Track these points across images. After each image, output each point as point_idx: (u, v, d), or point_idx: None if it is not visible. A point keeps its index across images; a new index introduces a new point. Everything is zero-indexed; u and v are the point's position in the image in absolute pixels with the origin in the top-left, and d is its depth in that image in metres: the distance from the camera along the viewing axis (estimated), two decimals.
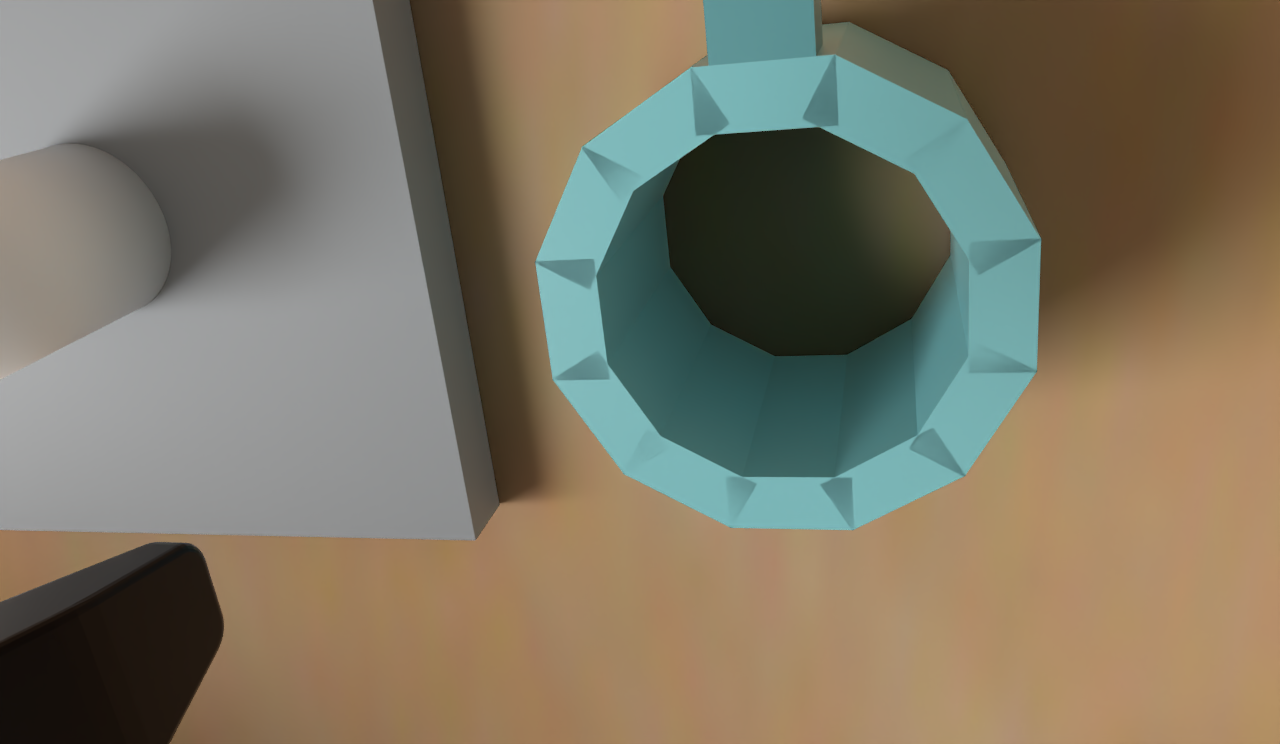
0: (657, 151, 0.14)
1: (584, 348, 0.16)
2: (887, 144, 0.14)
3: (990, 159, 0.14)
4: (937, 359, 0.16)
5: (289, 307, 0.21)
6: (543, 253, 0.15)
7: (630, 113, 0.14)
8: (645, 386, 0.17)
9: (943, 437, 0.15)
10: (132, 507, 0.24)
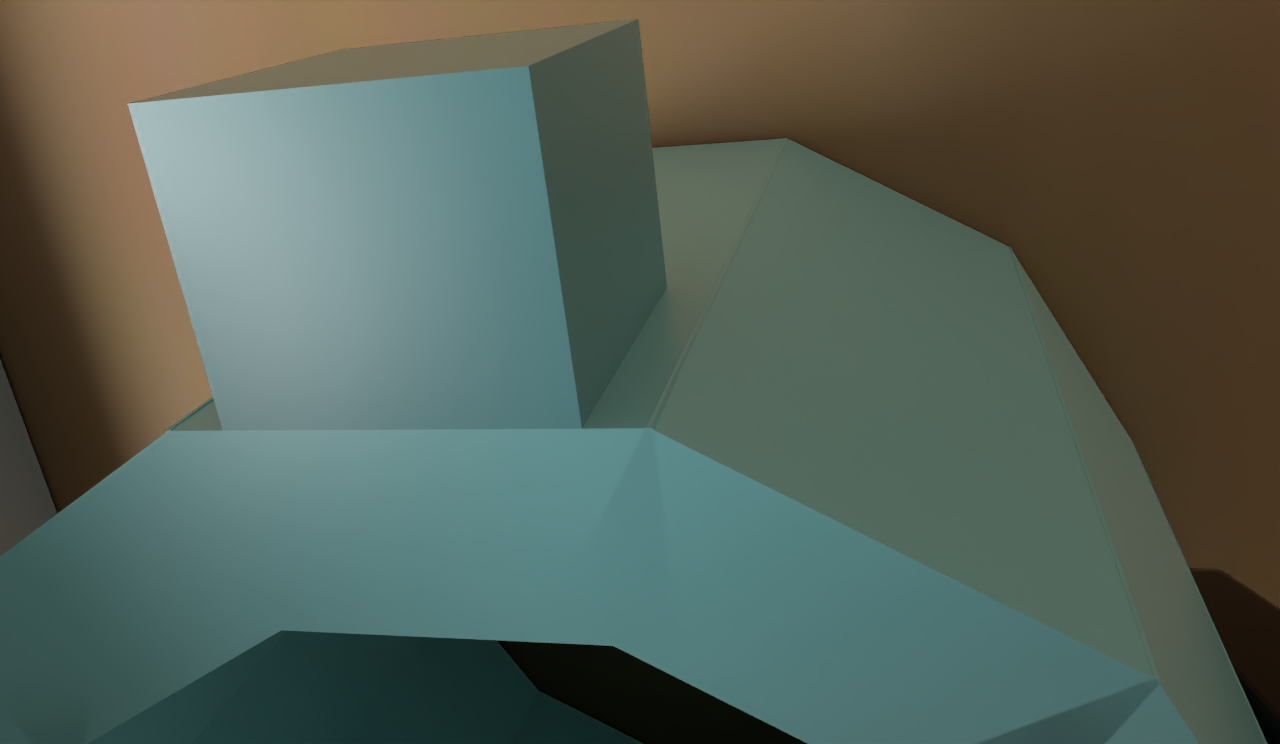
0: (124, 656, 0.05)
1: None
2: (854, 721, 0.04)
3: None
4: None
5: None
6: None
7: (18, 549, 0.04)
8: None
9: None
10: None
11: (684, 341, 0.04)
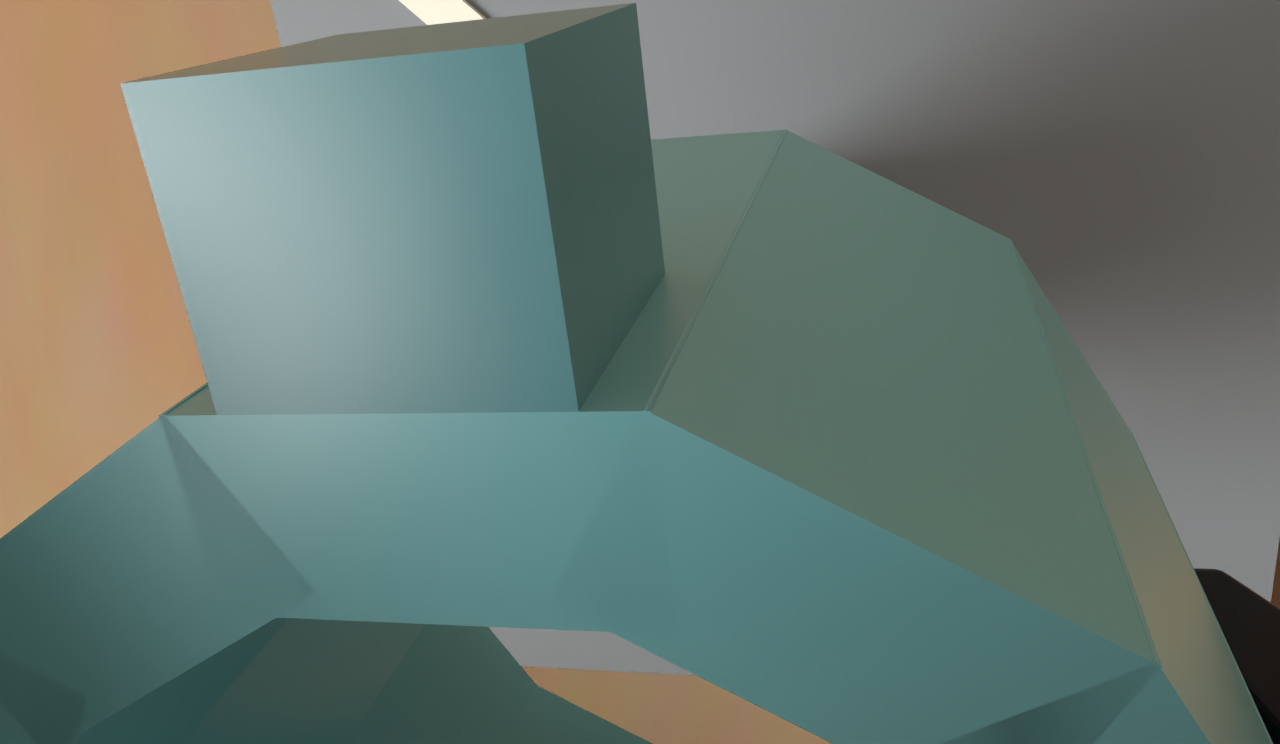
0: (119, 643, 0.04)
1: None
2: (852, 707, 0.04)
3: None
4: None
5: None
6: None
7: (11, 536, 0.04)
8: None
9: None
10: None
11: (682, 326, 0.04)
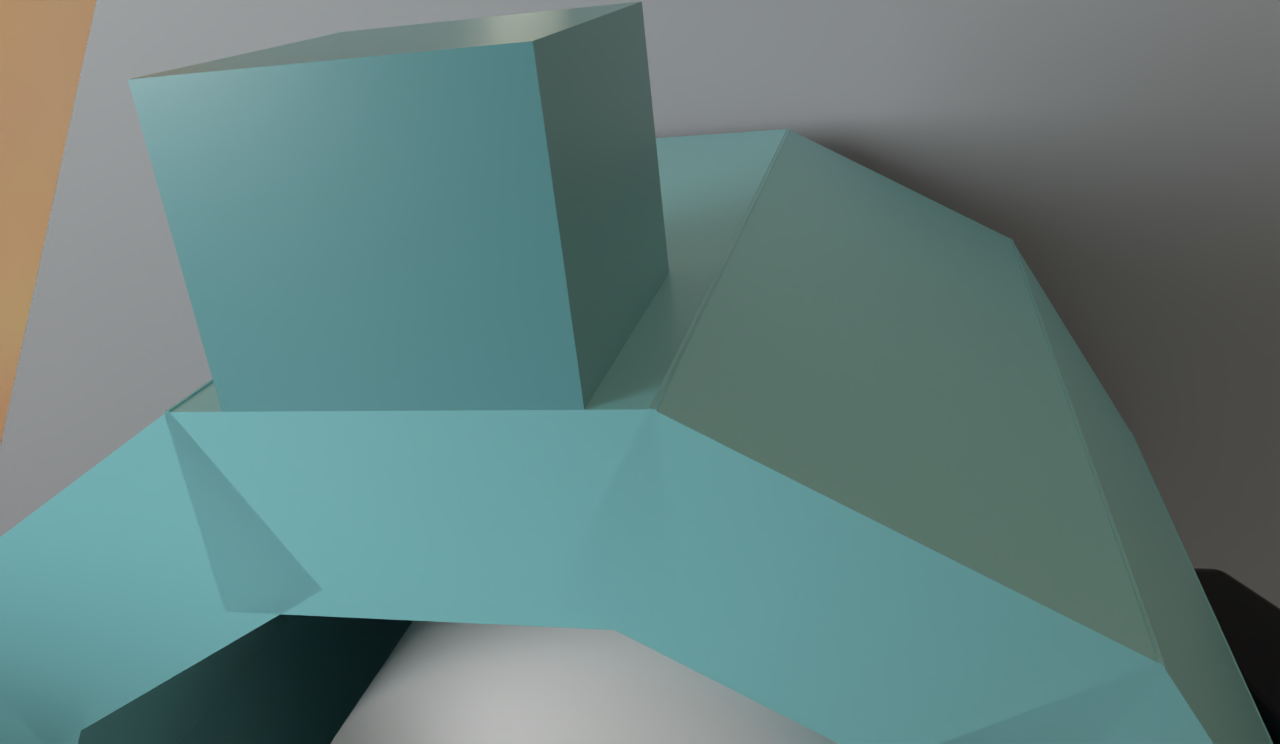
0: (122, 640, 0.04)
1: None
2: (856, 706, 0.04)
3: None
4: None
5: None
6: None
7: (15, 532, 0.04)
8: None
9: None
10: None
11: (686, 325, 0.04)
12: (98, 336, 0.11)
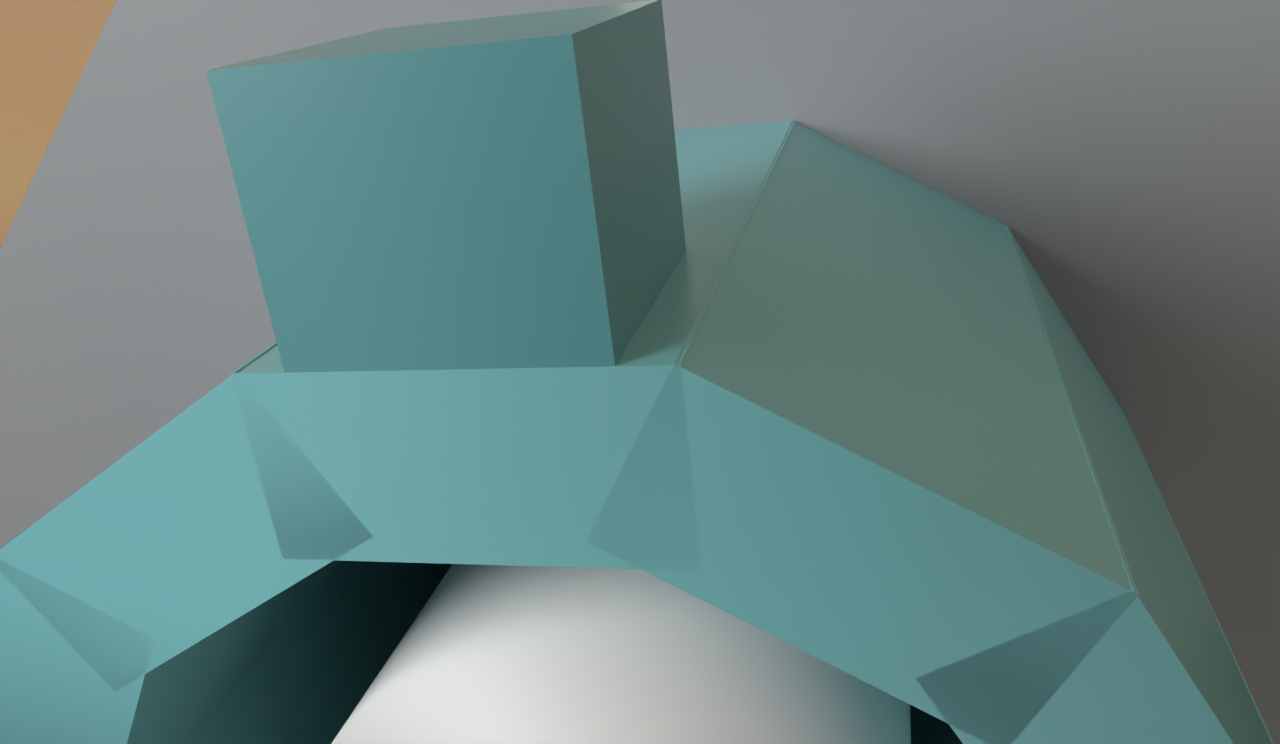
0: (186, 587, 0.05)
1: None
2: (860, 636, 0.04)
3: (1209, 715, 0.04)
4: None
5: None
6: None
7: (90, 486, 0.05)
8: None
9: None
10: None
11: (704, 294, 0.05)
12: (105, 217, 0.10)
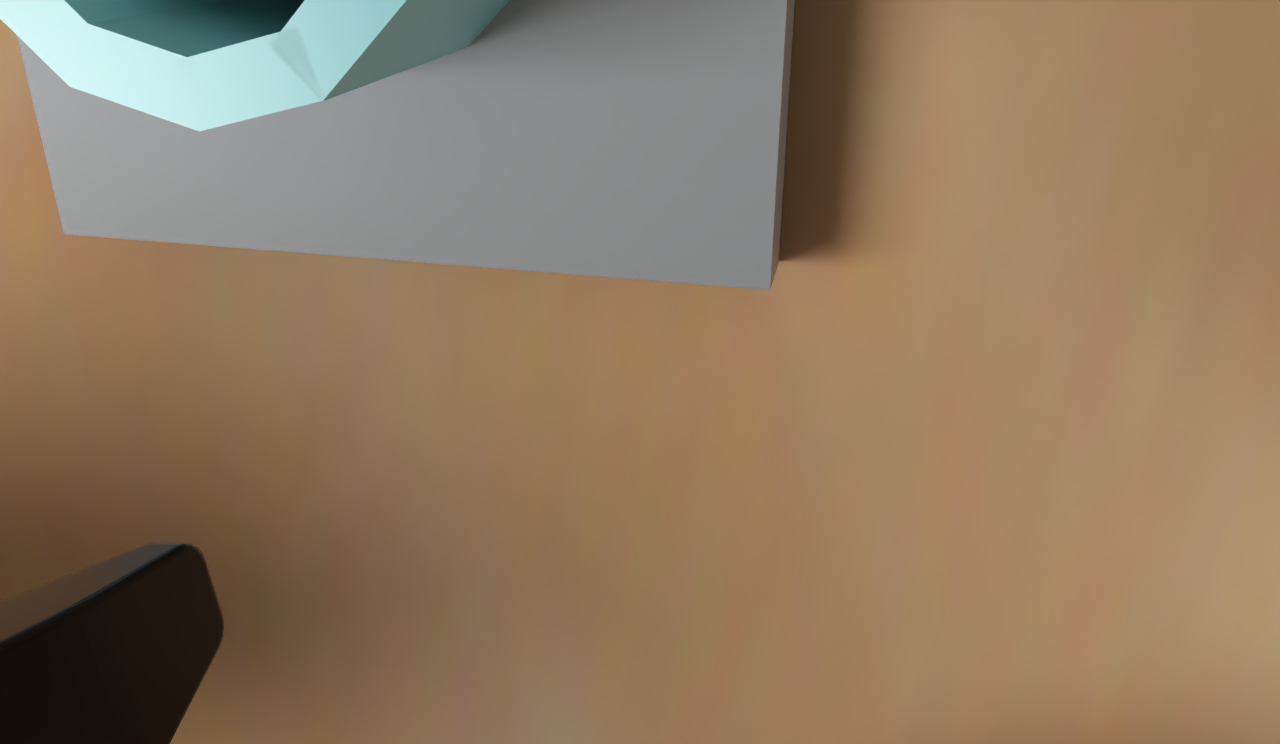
0: None
1: (59, 26, 0.13)
2: None
3: None
4: None
5: None
6: None
7: None
8: (173, 34, 0.14)
9: None
10: (330, 221, 0.19)
11: None
12: None
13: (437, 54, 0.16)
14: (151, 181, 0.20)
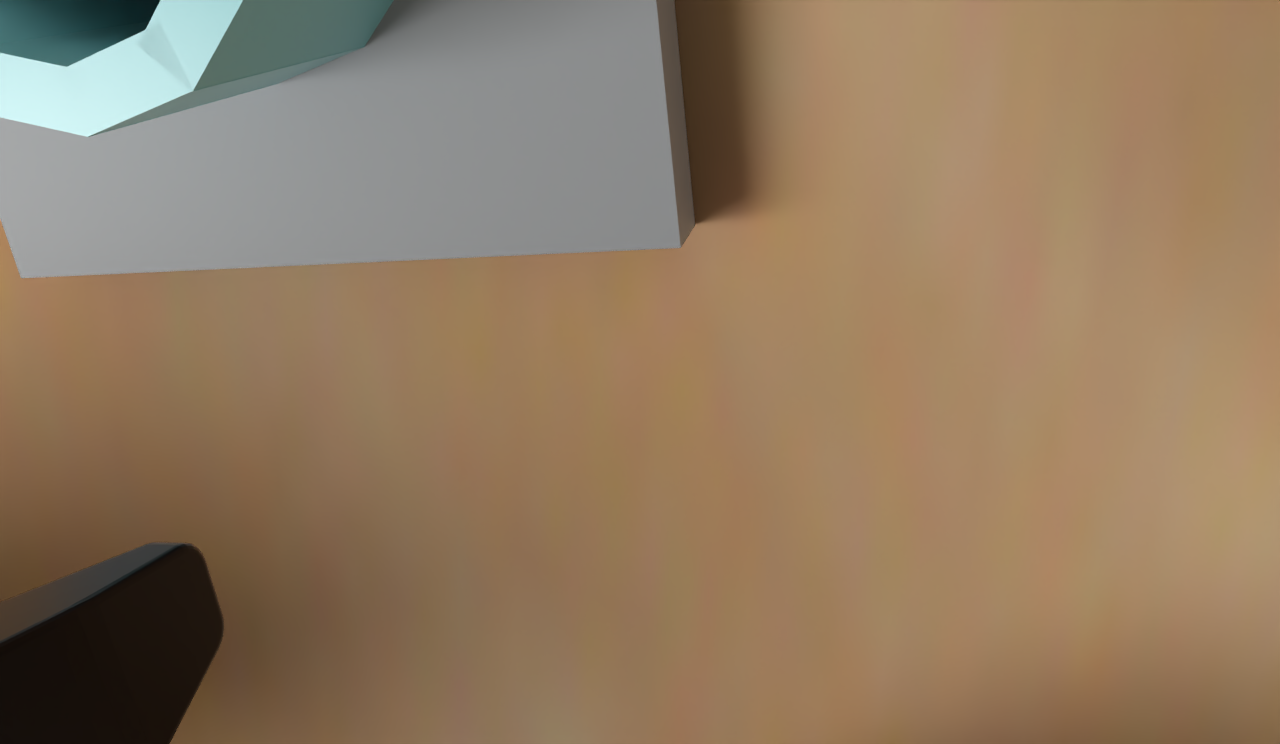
0: None
1: None
2: None
3: None
4: None
5: None
6: None
7: None
8: (59, 51, 0.15)
9: None
10: (261, 233, 0.20)
11: None
12: None
13: (325, 51, 0.17)
14: (93, 216, 0.21)
